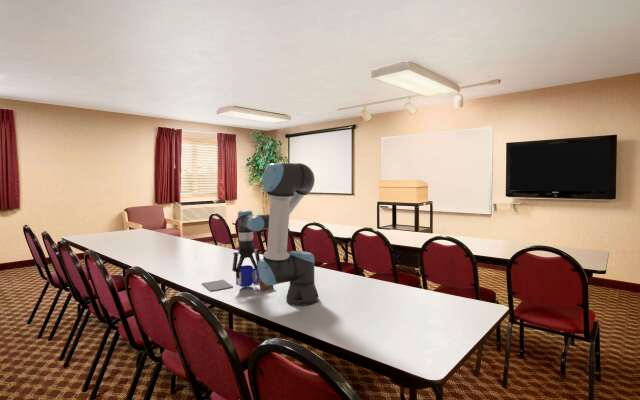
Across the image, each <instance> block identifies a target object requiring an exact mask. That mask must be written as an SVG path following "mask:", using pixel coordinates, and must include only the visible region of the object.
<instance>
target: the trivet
mask: <svg viewBox="0 0 640 400" xmlns="http://www.w3.org/2000/svg"><path fill="white" fill-rule="evenodd" d="M201 285H202V286H203V287H204V288H205V289H207V290H208V291H209V292H211V293H212V292H216V291H222V290H226V289H231V288H232V289H233V288H234V286H233V285H231V284H230V283H229V282H227V281H226V280H225V279H219V280H213V281H206V282H202V283H201Z"/></svg>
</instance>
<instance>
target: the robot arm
mask: <svg viewBox="0 0 640 400" xmlns="http://www.w3.org/2000/svg"><path fill="white" fill-rule="evenodd" d="M261 181H262V183H261V184H262V188H263V189H264V191H266V195H267V196H268V197H269V213H268V214H257V215H256V214H255V215H254V214H253V211H252V210H238V213H237V226H238V227H237V228H238V240H239V241H238V251H234V252H233V254H232V255H233V259H232V260H233V262H232V269H231V270H232V272H234V273H235V279H236V278H237V279H238V283H237V284H238V285H239V286H240V285H241V272H239V271H240V269H241V266H243V262H244V260H245V259H248V258H249V259H250V261H251V264H252V266H253V268H255V269H258V271H257V270H253V281H254V282H256V281H257V275H258V273H259V276H260V278H261V280H262V282H263V283H264V284H265V285H273V286H276V285H278V284H279V285H280V284H283V283H288V282H289V286H288V290H287V293H286V296H285V299H286V303H287V304H289V305H291V306H292V305H293V306H297V307H298V306H299V307H303V306H304V307H305V306H306V307H307V306H311V305H314V304H317V303H318V302H319V294H318V290H317V288H316V284H315V256H314V254H313V253H312V252H308V251H303V250H291V251H289V252H288V240H289V239H288V237H289V236H288V234H289V224H290V222H289V221H290V215H291V213H292V212H293V211H294V210H295V209H296V207H297V206H298V204H299V203H300V202H301V200H302V199H303V198H304V196H307V195H308V194H310V192H311V191H312V190H313V188H314V185H315V182H316V181H315V174H314V172H313V170H312V169H311V168H310V167H309V166H308V165H307V164H304V163H300V162H298V163H292V162H291V163H290V162H276V163H275V162H274V163H269V164H268V165H267V166H266V167H265V168H264V171H263V174H262V180H261ZM261 230H262V231H263V230H264V231H265V230H268V232H267V244H266V245H267V247H266V251H264V253H263V258H262V259H260V249H257V248H254V232H259V231H261ZM239 255H240V256H239ZM253 255H254V256H255V258H254V256H253ZM238 256H239V258H238ZM238 259H239V260H238Z"/></svg>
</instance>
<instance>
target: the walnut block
mask: <svg viewBox="0 0 640 400" xmlns="http://www.w3.org/2000/svg"><path fill="white" fill-rule="evenodd" d="M259 289H260V290H263V291H269V290H272V289H274V285H265V284H264V283H263V282H262V280H261V279H260V282H259Z"/></svg>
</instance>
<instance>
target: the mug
mask: <svg viewBox="0 0 640 400" xmlns="http://www.w3.org/2000/svg"><path fill="white" fill-rule="evenodd" d="M253 270H257V271H258V269H255V268H254V266H253V265H242V266H241V269H240V271H239V272H241V285H239V286H240V287H241V288H249V287H251V286H253V284H257V283H259V282H258V280H259V273H258V275H257V281H256V282H254V281H253Z"/></svg>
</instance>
